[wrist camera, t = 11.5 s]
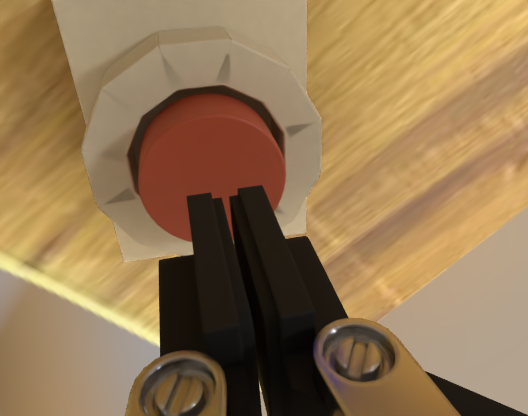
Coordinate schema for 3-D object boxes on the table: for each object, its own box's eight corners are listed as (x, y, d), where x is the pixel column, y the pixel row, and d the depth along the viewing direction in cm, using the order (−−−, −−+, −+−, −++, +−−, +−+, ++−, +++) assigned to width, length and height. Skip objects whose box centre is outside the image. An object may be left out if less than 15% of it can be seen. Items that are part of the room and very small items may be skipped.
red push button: (126, 100, 12) (123, 124, 11) (270, 84, 13) (285, 105, 11) (153, 222, 15) (153, 255, 13) (275, 203, 15) (288, 233, 14)
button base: (63, -13, 14) (35, 8, 10) (288, -30, 15) (327, -15, 11) (126, 229, 19) (121, 296, 15) (292, 204, 20) (320, 261, 16)
